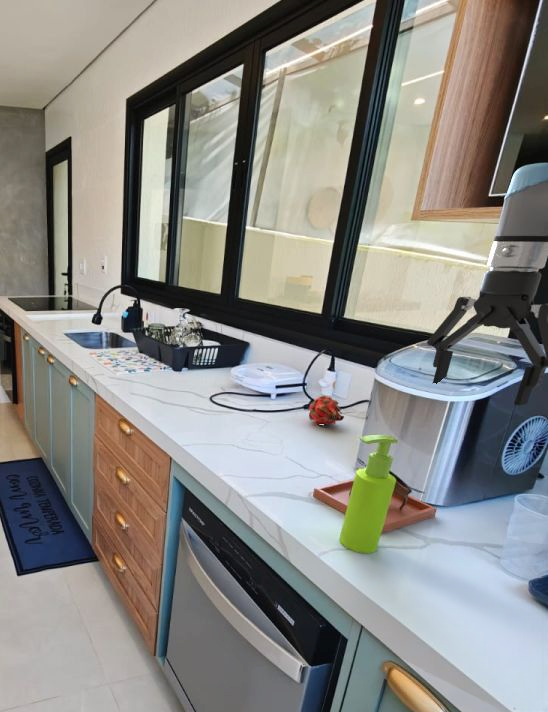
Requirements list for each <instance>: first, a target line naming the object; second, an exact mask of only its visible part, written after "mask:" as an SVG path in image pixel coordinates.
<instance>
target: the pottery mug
mask: <svg viewBox="0 0 548 712" xmlns="http://www.w3.org/2000/svg"><path fill="white" fill-rule="evenodd" d="M389 474H391V475H392V476H394V477H395V479H396V483H395V487H394V490H393V492H394V493H395V494H397V495H400V496H401V497H402V498H403V503H402V505H401V506H400V508H399V509H400V510H402V509H403V508H404V507H405V505H406V504H407V499H408V495H410V494H411V493H412V492H413V490H412V489H411V488H410V486H409V485H408V484H407V483H406V482H405V481H404V480H403V479H402V478H400V477H399V476H398V475H397V474H395V473H394V472H393V471H392V470H390V471H389ZM351 491H352V489H351ZM351 491H350V493H349V496H350V495H351Z"/></svg>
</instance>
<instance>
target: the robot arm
mask: <svg viewBox="0 0 548 712" xmlns="http://www.w3.org/2000/svg"><path fill="white" fill-rule="evenodd" d="M547 259H548V162H537V163H532V164H531V163H530V164H526V165H523V166H521V167H519V168H517V170H516V171H514V173H513V175H512V178H511V180H510V183H509V186H508V189H507V192H506V195H505V196H504V199H503V205H502V209H501V213H500V217H499V221H498V225H497V229H496V232H495V236H494V239H493V243H492V246H491V249H490V253H489V257H488V261H487V264H486V266H487V267H488V268H490V269H489V270H486V272H484V274H483V278H482V281H481V285H480V288H479V295H478V296H477V298H476V299H475V298H472V297H471V296H459V297H457V298H456V301H455V304H454V306H453V309H452V310H451V312H450V313H449V314H448V315H447V316H446V318H445V319H444V320H443V322H442V323H441V324H439V326H438V327H437V329H436V330H435V331H434V332H433V333H432V335H431V336H430V337H429V339H428V340H426V344H427V346H430V347H432V348H434V349H435V355H434V358H433V362H432V367H433V368H435V373H434V377H433V379H432V384H433V383H436V384H437V383H438V382H440V381H441V380H442V379H443V378H445V377H446V378H447V376H448V373H449V369H450V366H451V362H452V358H453V354H454V351H453V350H451V349H452V347H454V346H455V345H456V344H457V343H459V342H461V341H462V340H463V339H464V338H466V337H467V336H469V335H470V334H471V333H472V332H474V331H475V330H477V329H478V328H480V327H481V326H483V327H496V328H498V329H510V331H511V332H512V333H514V335H515V337H516V339H517V341H518V342H519V344H520V346H521V348H522V349H523V350H524V352H525V354H526V356H527V357H528V360H529V361H530V363H531V364H532V365H527V366H525V369H524V372H523V375H522V378H521V382H520V384H519V386H518V391H517V393H516V396H515V400H514V402H513V405H514V406H517V407H520V406H524V405H527V404H528V402H529V399H530V396H531V393H532V391H533V388H537V387H539V386H540V385H541V384H542V381H543V379H544V376H545V373H546V370H547V369H548V303H543V304H535V303H534V299H535V296H536V295H537V291H538V288H539V286H540V281H541V278H542V274H541V272H539V270H540V269H544V268H545V266H546V262H547ZM471 309H474V311H475V313H476V314H474V315H473V316H472V317H470V318H469V319H468V320H467V321H466V322H465V323H464V324H463V325H462V326H460V327H459V328H457V329H456V330H455V331H454V332H452V330H453V329H454V328H455V327H456V325H457V324H458V323H459V322H460V321H461V320H462V318H463V317H464V316H465V315H466V314H467V312H468V311H470V310H471ZM532 313H533V314H534V318H536V319H537V325H538V329H539V333H540V337H541V341H542V345H543V346H542V347H543V348H542V347H541V345H540V344H539V342H538V340H537V338H536V336H535V335H534V333H533V331H532V330H531V325H530V324H529V322H528V320H527V317H528V316H529V315H531V314H532ZM451 332H452V333H451ZM450 333H451V334H450Z"/></svg>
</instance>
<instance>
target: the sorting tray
mask: <svg viewBox="0 0 548 712" xmlns="http://www.w3.org/2000/svg"><path fill="white" fill-rule="evenodd" d="M354 479H355V477H354V478H349V479H345V480H342V481H338V482H334V483H330V484H326V485H322V486H318V487H314V489H313V492H312V497H314V498H316V499H317V500H319V501H321V502H323V503H324V504H327V505H328V506H329V507H332V508H334V509H335V510H337V511H339V512H341V513H343V514H344V515H346V511H347V507H348V503H349V499H350V496H349V493H350V491H351V489H352V487H353V483H354ZM402 503H403V498H402V497H401V496H400V495H397V494H395V493H394V492H393V494H392V497H391V501H390V504H389V508H388V511H387V515H386V518H385V522H384V525H383V529H382V532H381V535H382V534H386V533H389V532H392V531H394V530H398V529H400V528H404V527H408V526H410V525H413V524H416V523H419V522H422V521H425V520H429V519H431V518H434V517H435V516H436V513H437V511H438V508H437V507H435V506H433V505H430V504H429V503H426V502H425V501H422V500H420V499H418V498H417V497H413V496H412V495H410V494H408V499H407V504H406V505H405V507H404V508H403V509H402V510H400V509H399V508H400V506H401V505H402Z"/></svg>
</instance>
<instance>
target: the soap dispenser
mask: <svg viewBox="0 0 548 712" xmlns="http://www.w3.org/2000/svg"><path fill="white" fill-rule="evenodd" d="M358 439H359V440H360V441H362V442H363V443H365V444H367V445H371V444H376V443H378V444H377V447H376V451H374V452H370V453H369V455H368V459H367V463H366V465H365V468H359V469H357V470H356V472H355V475H354V478H355V479H354V478H353V479H354V483H353V487H352V491H351V495H350V499H349V503H348V507H347V511H346V514H344V519H343V523H342V528H341V531H340V535H339V542H340V543H341V545H342V546H344V547H345V548H347V549H348V550H351V551H353V552H357V553H361V554H373V553H375V552H376V551H377V549H378V546H379V542H380V539H381V536H382V534H381V532H382V529H383V525H384V522H385V518H386V515H387V511H388V508H389V504H390V501H391V497H392V494H393V490H394V487H395V483H396V479H395V477H394V476H392V475H391V474H389V471H391V467H392V463H393V460H394V458H393V457H392V456H391V455H390V454H389V452H390V448H391V444H398V439H397V438H396V437H393V436H392V435H389V434H368V435H362V436H360V437H358Z"/></svg>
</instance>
